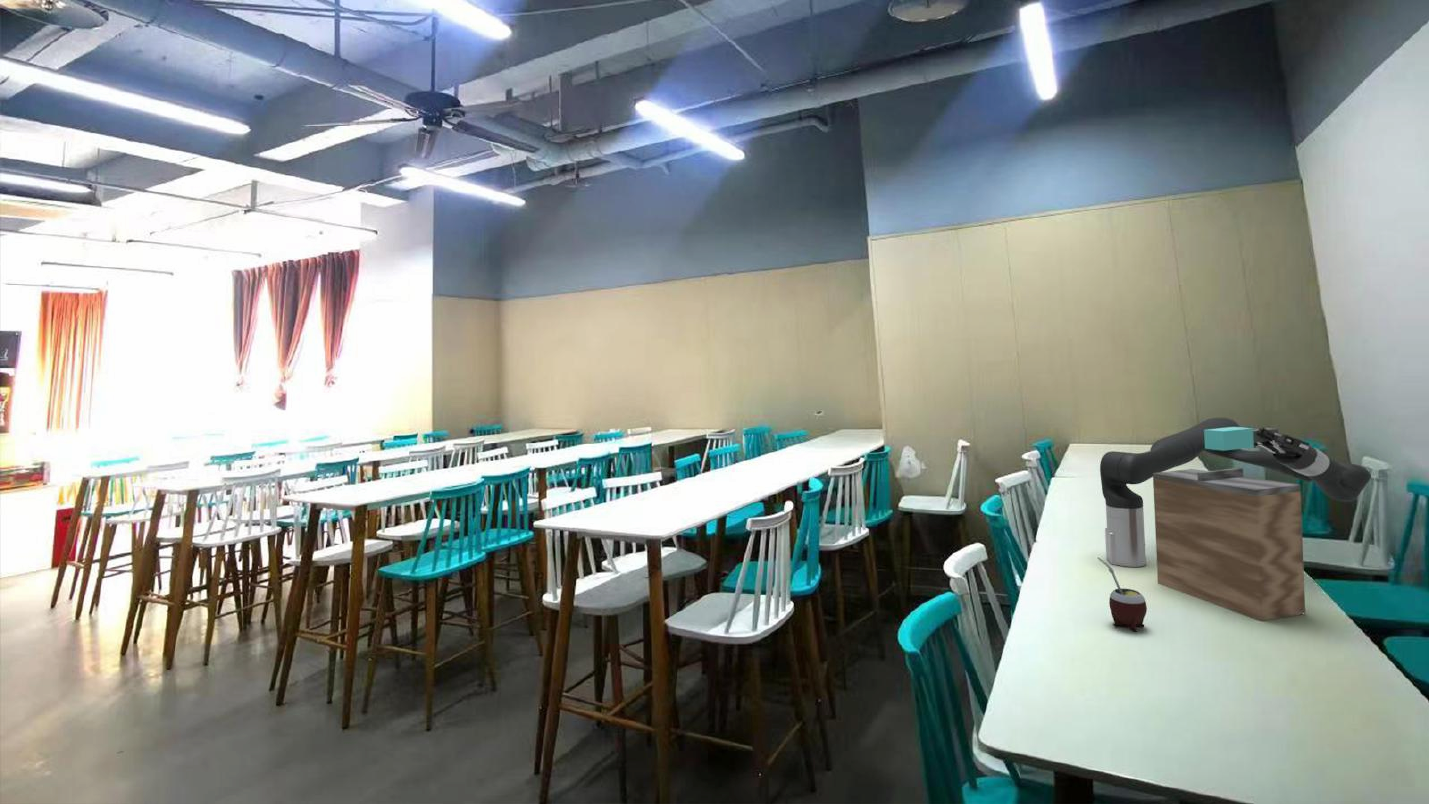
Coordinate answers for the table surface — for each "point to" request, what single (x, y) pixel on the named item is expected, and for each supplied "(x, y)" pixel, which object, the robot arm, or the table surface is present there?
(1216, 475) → the cabinet
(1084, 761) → the table surface
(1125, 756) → the table surface
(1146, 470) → the robot arm
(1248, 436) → the block
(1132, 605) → the mate gourd
